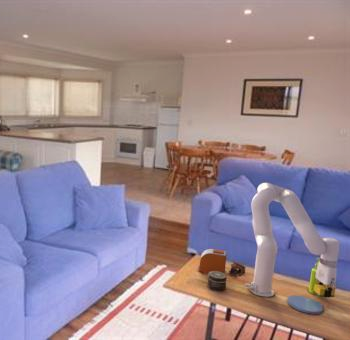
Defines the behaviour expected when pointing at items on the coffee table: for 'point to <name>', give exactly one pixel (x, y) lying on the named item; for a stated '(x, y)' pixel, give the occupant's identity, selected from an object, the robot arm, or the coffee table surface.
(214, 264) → the brown toaster
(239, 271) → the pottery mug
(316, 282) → the soap dispenser
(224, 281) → the jar
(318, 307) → the plate
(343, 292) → the coffee table surface
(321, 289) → the sponge
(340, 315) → the coffee table surface
